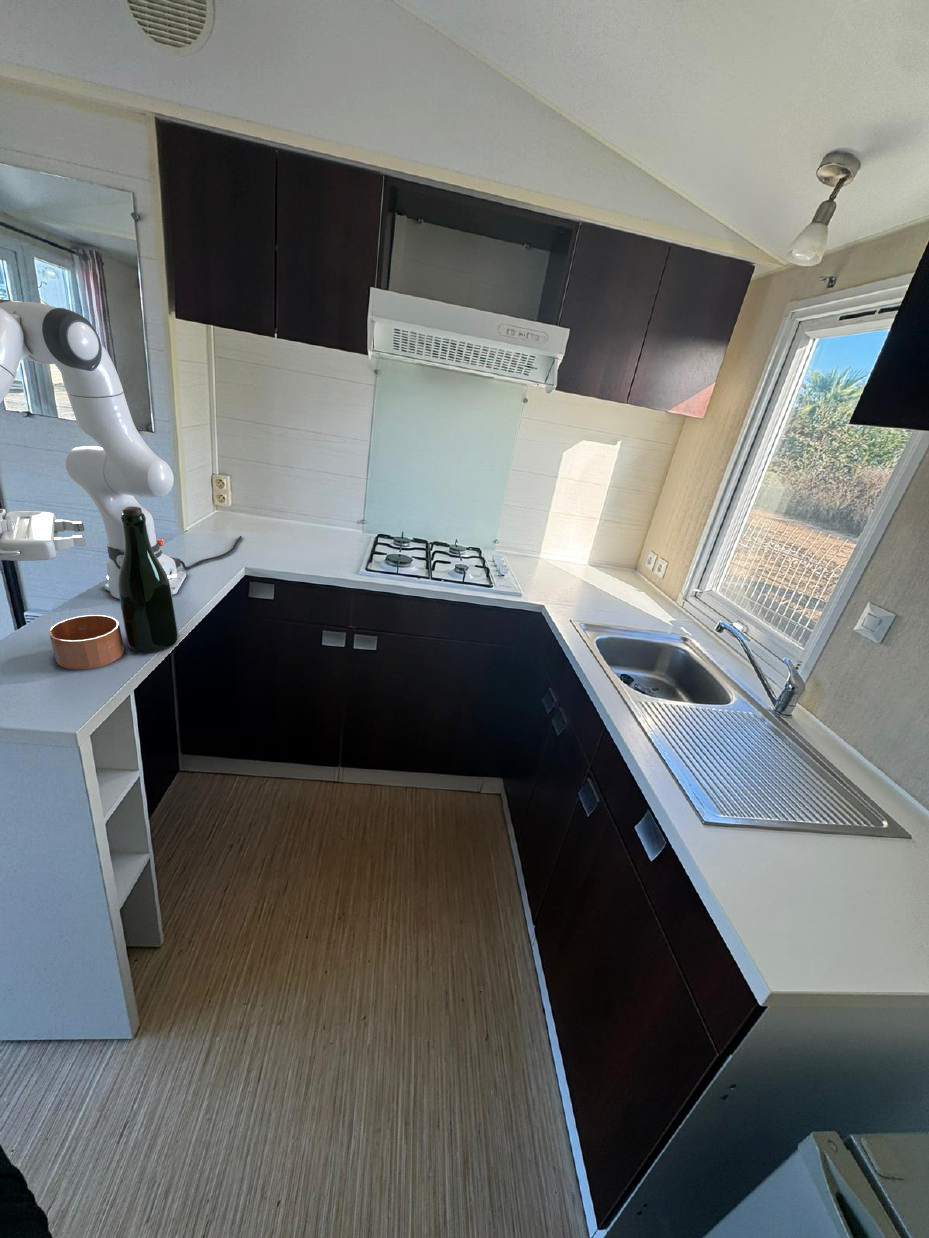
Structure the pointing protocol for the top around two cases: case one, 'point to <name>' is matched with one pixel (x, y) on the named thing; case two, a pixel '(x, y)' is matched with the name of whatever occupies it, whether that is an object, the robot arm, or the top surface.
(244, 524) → the top surface
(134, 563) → the green wine bottle
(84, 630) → the copper bottle coaster
